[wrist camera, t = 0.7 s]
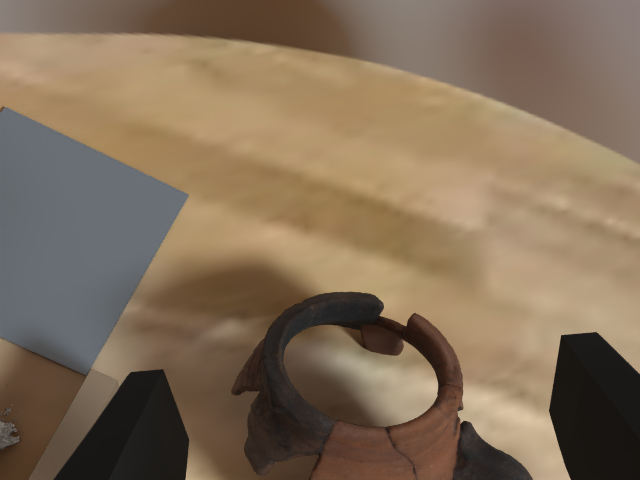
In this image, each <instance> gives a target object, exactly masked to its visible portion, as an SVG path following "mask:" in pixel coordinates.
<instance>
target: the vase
mask: <svg viewBox="0 0 640 480" xmlns="http://www.w3.org/2000/svg"><path fill="white" fill-rule="evenodd" d="M7 386H8V385H7ZM12 406H13V404H12ZM6 410H7V411H4V415H6V416H8V415H9V411H10V410H11V408H10V409H7V408H6ZM5 412H7V414H6V413H5ZM11 412H12V410H11ZM16 413H17V412H16ZM0 415H2V413H0ZM0 420H2V421H3V419H0ZM15 421H16V420H15ZM15 421H13V422H15ZM18 423H20V422H18ZM14 427H15V426H14V424H11V422H9V423H4V422H1V421H0V450H3V449H5V448H6V447H8V446H10V445H13V444H15V443H18V442H20V441H19V440H18V439H20V437H19V436H18V437H12V436H11V433H12V432H17V430H16V429H17V428H14ZM23 433H24V432H23ZM21 441H22V440H21Z"/></svg>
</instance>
